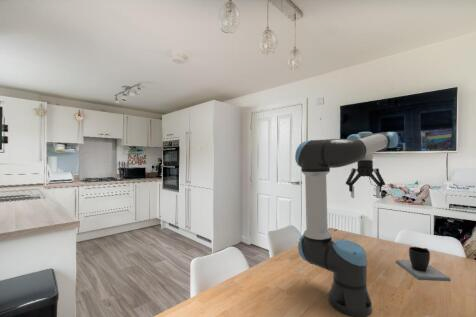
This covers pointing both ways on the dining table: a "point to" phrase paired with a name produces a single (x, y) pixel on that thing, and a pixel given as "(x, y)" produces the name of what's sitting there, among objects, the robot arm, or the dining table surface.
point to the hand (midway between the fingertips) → (365, 197)
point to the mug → (419, 258)
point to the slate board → (423, 272)
